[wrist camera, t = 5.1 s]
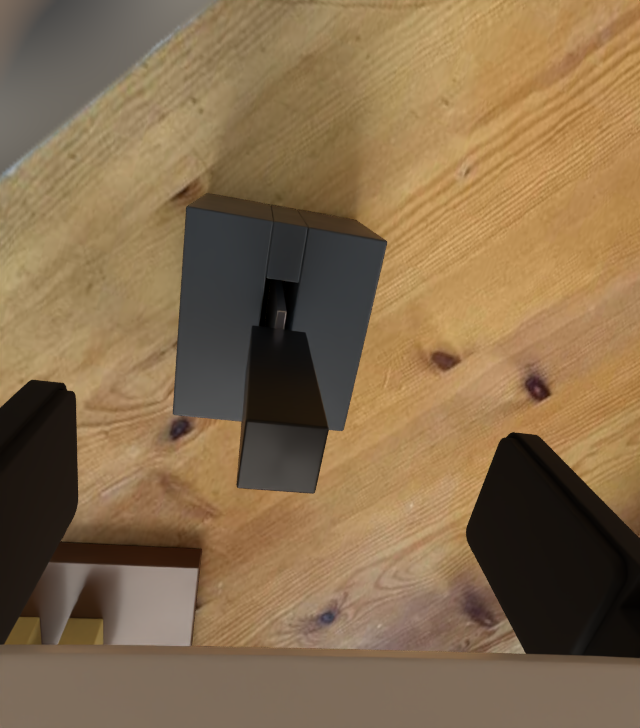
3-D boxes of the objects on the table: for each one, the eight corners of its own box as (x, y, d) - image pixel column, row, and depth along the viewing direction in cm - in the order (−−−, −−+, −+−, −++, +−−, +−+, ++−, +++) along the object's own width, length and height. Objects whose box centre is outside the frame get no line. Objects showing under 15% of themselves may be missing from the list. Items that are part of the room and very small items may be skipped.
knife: (249, 317, 23) (233, 510, 11) (257, 257, 22) (249, 394, 9) (285, 321, 24) (311, 515, 11) (294, 263, 22) (335, 403, 10)
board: (-121, 691, 31) (-139, 716, 30) (-169, 530, 26) (-193, 551, 24) (187, 690, 34) (183, 712, 33) (202, 548, 29) (199, 567, 28)
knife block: (193, 356, 24) (172, 415, 18) (206, 192, 21) (185, 205, 15) (326, 371, 25) (343, 432, 20) (357, 220, 22) (388, 241, 16)
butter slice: (71, 670, 30) (44, 741, 26) (68, 617, 28) (39, 685, 24) (103, 671, 30) (81, 740, 27) (103, 618, 28) (80, 685, 25)
